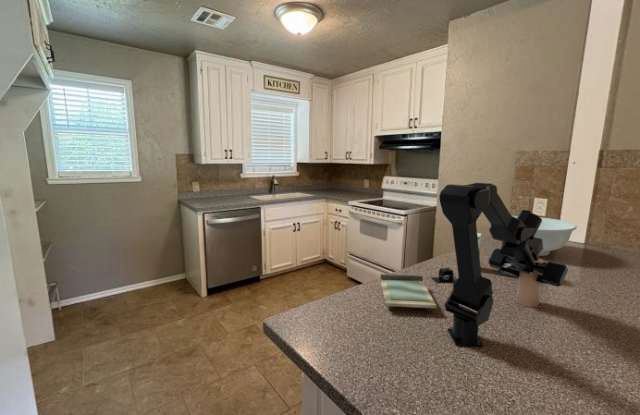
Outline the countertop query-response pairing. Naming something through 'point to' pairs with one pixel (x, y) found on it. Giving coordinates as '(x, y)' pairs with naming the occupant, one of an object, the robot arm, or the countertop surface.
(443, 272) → the dark piece
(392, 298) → the mint green tray
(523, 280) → the canister
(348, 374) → the countertop surface
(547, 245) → the bowl
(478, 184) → the robot arm
